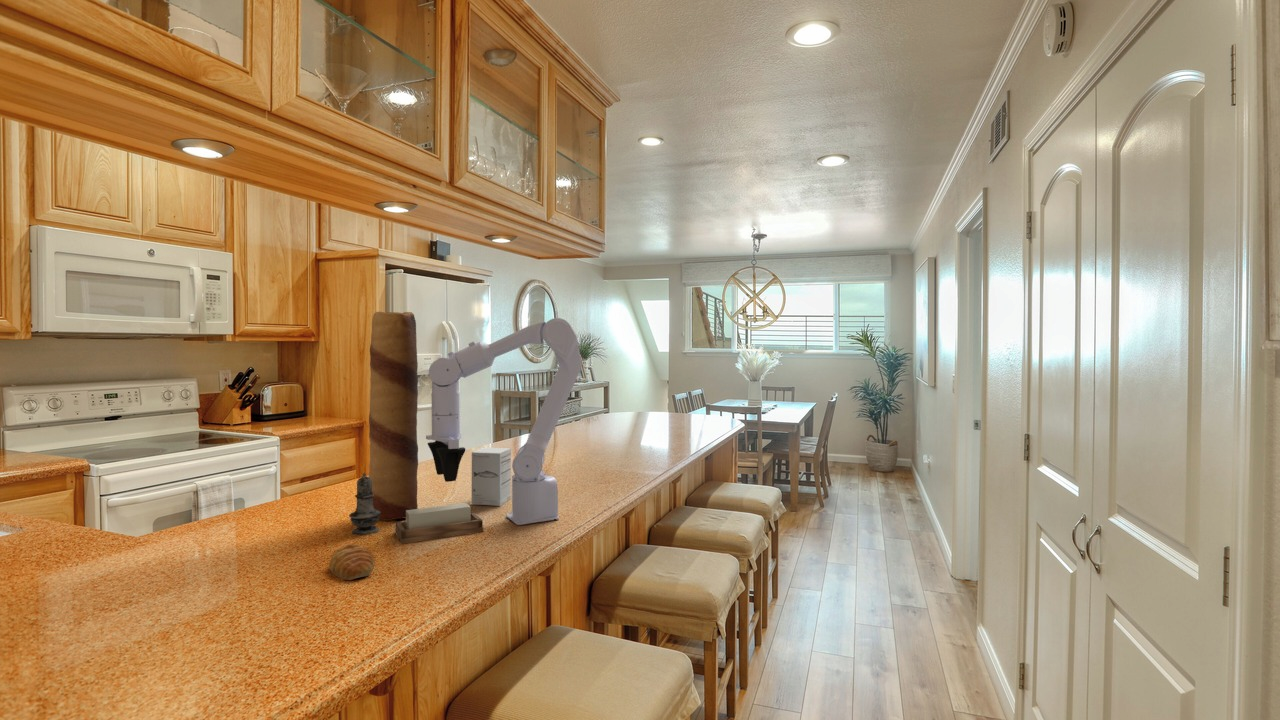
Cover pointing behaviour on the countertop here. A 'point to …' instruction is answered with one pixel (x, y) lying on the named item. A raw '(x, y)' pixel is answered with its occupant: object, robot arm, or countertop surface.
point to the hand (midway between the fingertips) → (446, 477)
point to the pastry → (352, 562)
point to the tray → (438, 530)
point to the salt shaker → (364, 508)
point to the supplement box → (491, 476)
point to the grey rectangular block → (437, 515)
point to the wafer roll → (393, 414)
